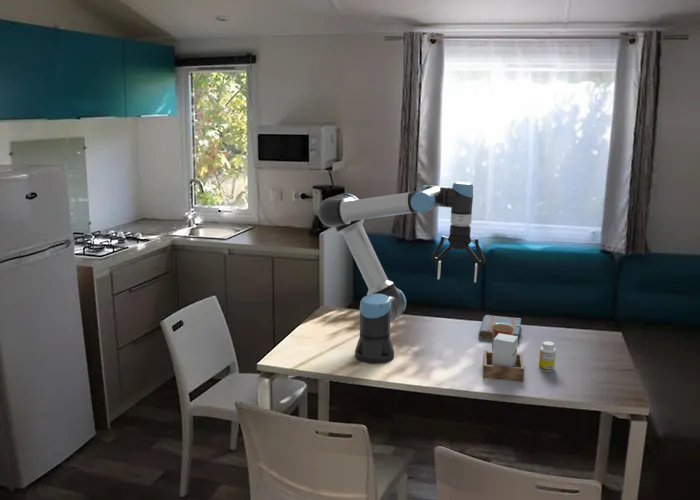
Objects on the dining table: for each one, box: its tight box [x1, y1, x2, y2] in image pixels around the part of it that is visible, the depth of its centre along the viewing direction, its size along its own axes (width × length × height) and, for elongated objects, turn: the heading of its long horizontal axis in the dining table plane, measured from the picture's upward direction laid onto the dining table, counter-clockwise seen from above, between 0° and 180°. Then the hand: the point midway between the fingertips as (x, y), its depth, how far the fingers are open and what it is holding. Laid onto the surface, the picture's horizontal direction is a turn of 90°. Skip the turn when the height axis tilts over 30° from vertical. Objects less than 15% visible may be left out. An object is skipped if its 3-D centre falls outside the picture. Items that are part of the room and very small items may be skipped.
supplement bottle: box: [538, 340, 557, 373], centre depth 243 cm, size 6×6×10 cm
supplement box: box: [492, 333, 519, 367], centre depth 239 cm, size 7×7×13 cm
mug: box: [491, 324, 514, 352], centre depth 257 cm, size 12×9×10 cm
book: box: [477, 314, 522, 341], centre depth 281 cm, size 21×16×5 cm
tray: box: [482, 350, 525, 382], centre depth 240 cm, size 14×14×5 cm
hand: (456, 280), depth 249 cm, fingers open, 13 cm apart
